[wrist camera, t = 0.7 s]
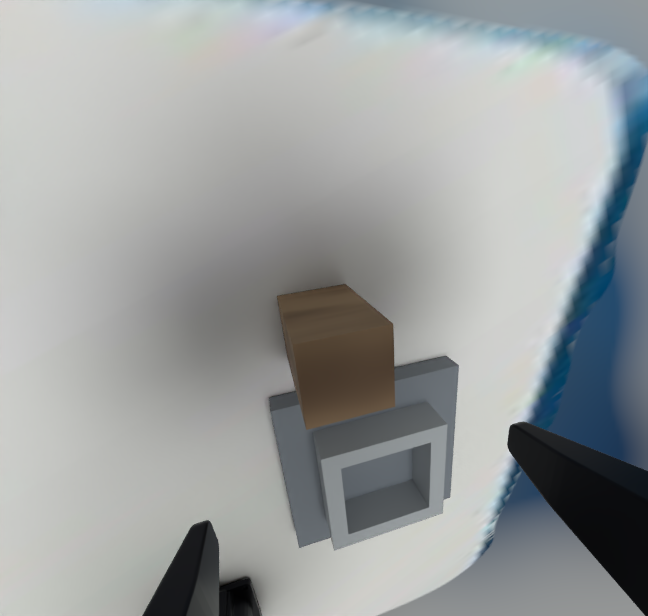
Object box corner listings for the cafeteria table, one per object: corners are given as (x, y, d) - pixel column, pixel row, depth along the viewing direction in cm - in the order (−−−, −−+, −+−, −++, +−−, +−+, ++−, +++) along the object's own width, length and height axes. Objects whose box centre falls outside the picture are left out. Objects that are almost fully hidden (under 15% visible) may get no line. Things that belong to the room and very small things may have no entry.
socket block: (440, 483, 28) (468, 524, 25) (296, 529, 26) (304, 583, 22) (446, 355, 23) (483, 384, 20) (269, 397, 21) (273, 439, 17)
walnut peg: (350, 344, 21) (395, 406, 15) (287, 357, 20) (306, 430, 14) (345, 283, 19) (393, 323, 13) (276, 295, 19) (292, 344, 12)
